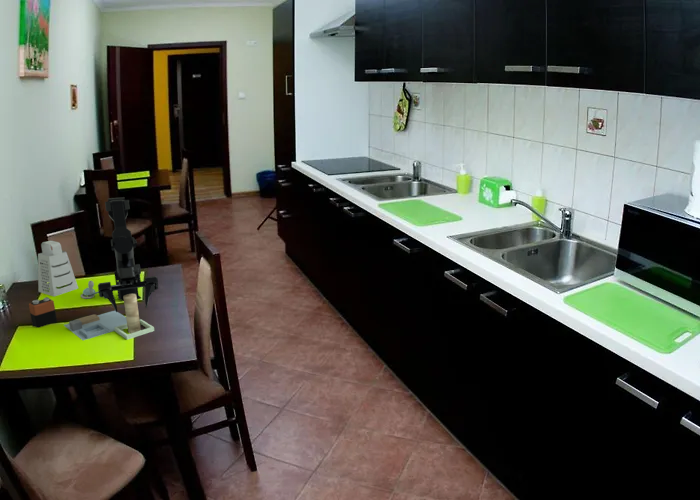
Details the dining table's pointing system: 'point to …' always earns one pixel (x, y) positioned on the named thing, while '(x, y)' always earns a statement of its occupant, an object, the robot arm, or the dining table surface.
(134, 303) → the dowel
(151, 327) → the tray
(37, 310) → the battery
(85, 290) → the pacifier
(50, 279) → the grater
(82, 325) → the board
